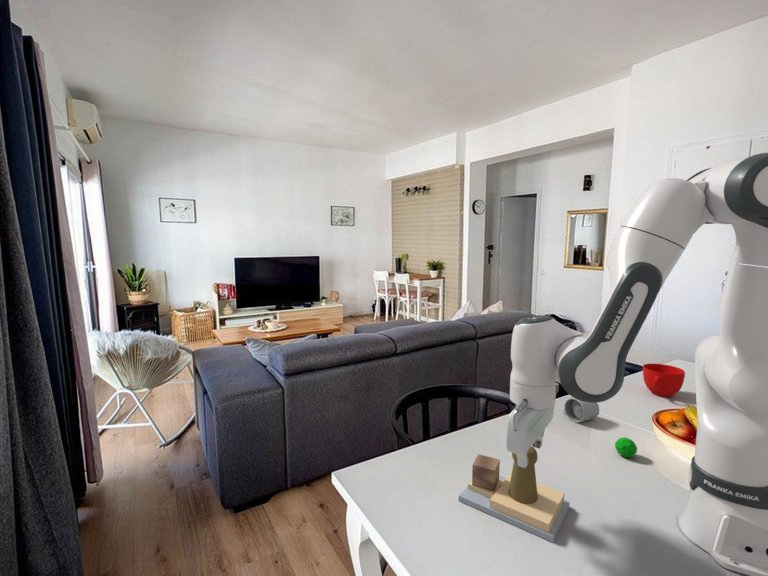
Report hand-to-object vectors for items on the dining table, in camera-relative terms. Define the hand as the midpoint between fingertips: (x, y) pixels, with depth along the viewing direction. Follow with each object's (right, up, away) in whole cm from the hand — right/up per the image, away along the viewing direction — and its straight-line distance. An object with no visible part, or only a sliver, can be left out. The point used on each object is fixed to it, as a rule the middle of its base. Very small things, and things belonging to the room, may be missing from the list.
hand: (530, 455), depth 83 cm
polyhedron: (+34, -10, +23) cm, 42 cm away
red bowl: (+73, -5, +64) cm, 98 cm away
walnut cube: (-8, -9, +7) cm, 14 cm away
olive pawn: (-1, -9, +2) cm, 10 cm away
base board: (-3, -12, +3) cm, 13 cm away
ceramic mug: (+33, -8, +46) cm, 57 cm away
